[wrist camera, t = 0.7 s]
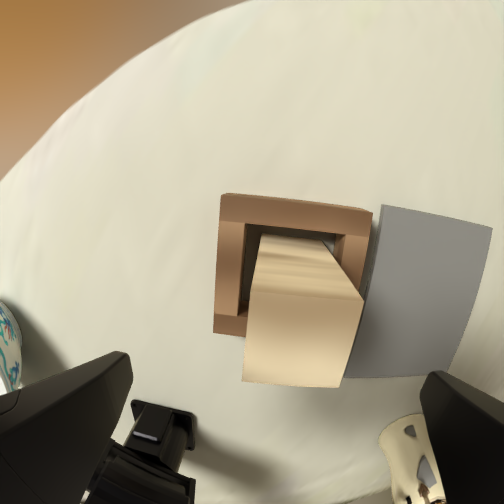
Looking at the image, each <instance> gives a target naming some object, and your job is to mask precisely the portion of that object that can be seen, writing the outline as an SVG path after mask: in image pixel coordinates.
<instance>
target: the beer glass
mask: <svg viewBox="0 0 504 504" xmlns="http://www.w3.org/2000/svg"><path fill="white" fill-rule="evenodd" d="M378 444H379V446H380V448H381V450H382V451H383V453H384V454H385V456H386V458H387V460H388V463H389V467H390V474H391V490H392V504H447V503H446V499H445V494H444V490H443V486H442V482H441V478H440V474H439V471H438V467H437V464H436V460H435V457H434V453H433V450H432V447H431V444H430V440H429V437H428V432H427V428H426V423H425V419H424V415H422V414H411V415H407V416H404V417H402V418H400V419H398V420H396V421H394V422H393V423H391V424H390V425H389V426H387V427H386V428H385V429H384V430H383V431H382V433H381V434H380V436H379V438H378Z"/></svg>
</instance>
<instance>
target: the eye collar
mask: <svg viewBox="0 0 504 504" xmlns="http://www.w3.org/2000/svg"><path fill="white" fill-rule="evenodd" d="M372 216H373V213H372V212H369V211H367V210H364V209H361V208H355V207H348V206H341V205H334V204H327V203H319V202H311V201H303V200H295V199H286V198H277V197H267V196H257V195H247V194H235V193H226V194H223V195H221V202H220V216H219V230H218V245H217V262H216V280H215V301H214V325H213V333H218V334H225V335H233V336H241V337H246V332H247V322H248V312H249V301H242V300H241V295H242V284H243V272H244V260H245V249H246V238H247V226H248V224H258V225H268V226H277V227H286V228H295V229H304V230H313V231H321V232H330V233H336V238H335V245H334V251H333V257H334V259H335V260H336V262H337V263H338V264H339V266H340V267H341V269H342V270H343V271H344V273H345V274H346V276H347V277H348V278H349V280H350V281H351V283H352V284H353V286H354V287H355V289H356V290H357V291H358V292H359V287H360V283H361V278H362V273H363V268H364V263H365V258H366V252H367V247H368V241H369V235H370V229H371V223H372Z"/></svg>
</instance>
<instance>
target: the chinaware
mask: <svg viewBox="0 0 504 504" xmlns="http://www.w3.org/2000/svg"><path fill="white" fill-rule="evenodd" d="M21 346H22V335H21V331H20V328H19V326H18V323H17V321H16V319H15V318H14V316H13V314H12V313H11V311H10V310H9V309H8V308H7V306H6V305H4V304H3V303H2V302H0V395H3V394H6V393H9V392H12V391H14V390H17V389H18V387H19V383H20V379H21V371H22V359H21V351H20V348H21Z"/></svg>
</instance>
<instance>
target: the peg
mask: <svg viewBox="0 0 504 504" xmlns="http://www.w3.org/2000/svg"><path fill="white" fill-rule="evenodd" d="M363 304H364V300H363V299H362V297H361V296H360V294H359V293H358V291H357V290H356V289H355V287H354V286H353V284H352V283H351V281H350V280H349V278H348V277H347V276H346V274H345V273H344V271H343V270H342V269H341V267H340V266H339V264H338V263H337V262H336V260H335V259H334V257H333V256H332V255H331V253H330V252H329V251H328V249H327V248H326V246H325V245H324V244H323V242H322V241H321V240H316V239H308V238H299V237H290V236H280V235H271V234H262V236H261V241H260V246H259V251H258V256H257V261H256V266H255V271H254V276H253V281H252V286H251V291H250V301H249V312H248V322H247V332H246V342H245V353H244V363H243V373H242V381H244V382H253V383H263V384H274V385H287V386H303V387H333V388H339V385H340V382H341V379H342V377H343V374H344V370H345V367H346V364H347V361H348V358H349V355H350V351H351V348H352V345H353V341H354V338H355V334H356V331H357V327H358V324H359V320H360V316H361V312H362V308H363Z"/></svg>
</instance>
